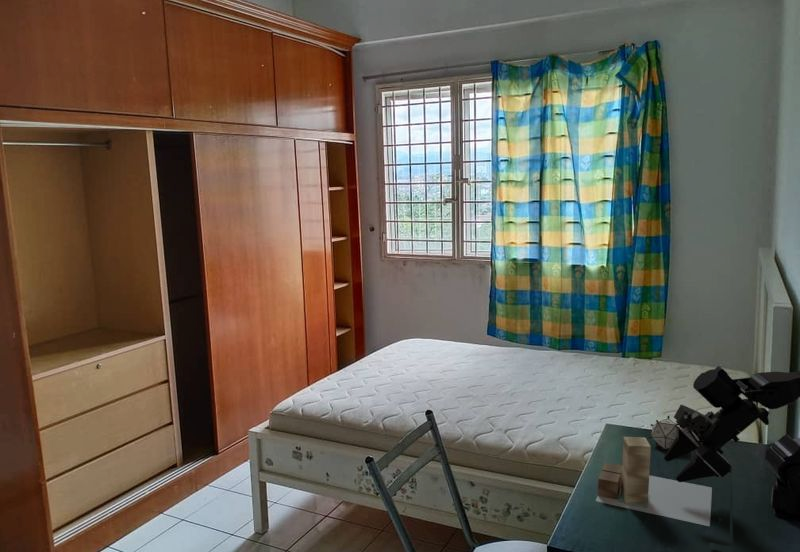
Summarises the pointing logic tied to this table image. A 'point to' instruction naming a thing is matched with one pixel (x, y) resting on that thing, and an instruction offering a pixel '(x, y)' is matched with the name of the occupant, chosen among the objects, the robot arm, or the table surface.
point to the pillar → (635, 470)
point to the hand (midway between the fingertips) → (671, 469)
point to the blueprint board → (672, 500)
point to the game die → (664, 433)
